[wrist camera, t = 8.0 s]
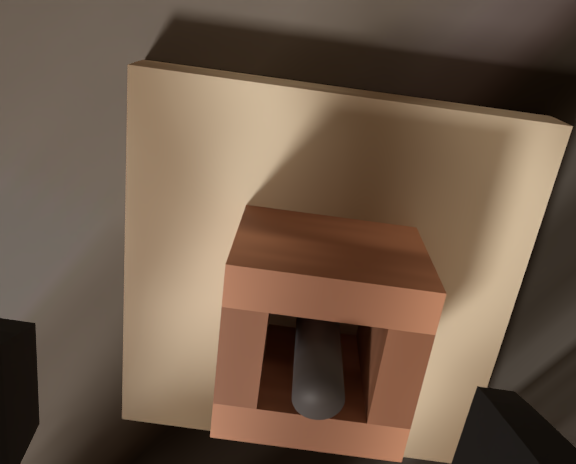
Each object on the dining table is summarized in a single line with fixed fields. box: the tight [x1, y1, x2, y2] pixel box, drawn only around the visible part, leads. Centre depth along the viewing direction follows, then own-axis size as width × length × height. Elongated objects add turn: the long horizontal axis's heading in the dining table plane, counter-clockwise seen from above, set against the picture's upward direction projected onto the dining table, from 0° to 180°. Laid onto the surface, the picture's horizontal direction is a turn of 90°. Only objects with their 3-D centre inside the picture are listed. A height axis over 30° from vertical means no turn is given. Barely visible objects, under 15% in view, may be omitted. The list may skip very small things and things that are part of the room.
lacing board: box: [122, 60, 573, 463], centre depth 15 cm, size 12×12×6 cm
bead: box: [210, 205, 447, 462], centre depth 15 cm, size 5×5×4 cm
